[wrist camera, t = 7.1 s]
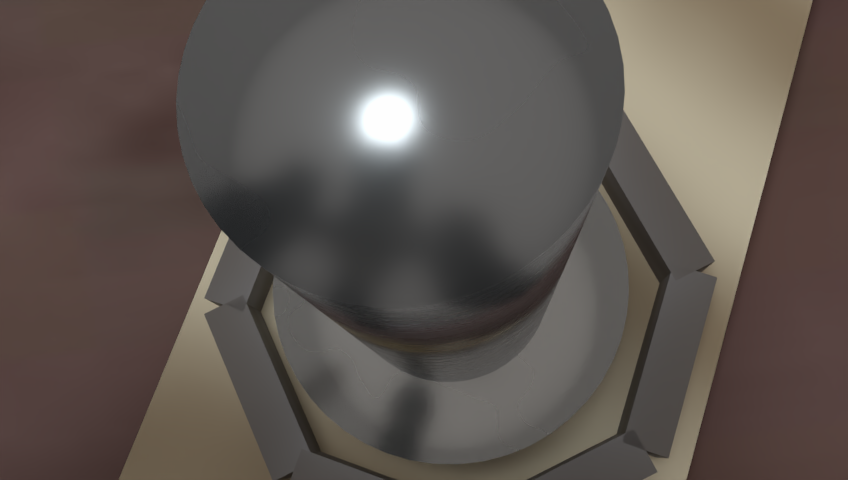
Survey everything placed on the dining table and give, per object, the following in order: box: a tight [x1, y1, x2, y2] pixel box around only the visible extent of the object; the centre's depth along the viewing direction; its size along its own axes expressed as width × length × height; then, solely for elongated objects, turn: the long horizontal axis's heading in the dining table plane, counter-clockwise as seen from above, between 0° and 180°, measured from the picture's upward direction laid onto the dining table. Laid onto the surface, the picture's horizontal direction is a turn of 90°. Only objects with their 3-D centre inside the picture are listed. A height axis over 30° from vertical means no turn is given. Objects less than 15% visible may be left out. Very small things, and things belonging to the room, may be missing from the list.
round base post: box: [176, 0, 629, 464], centre depth 11 cm, size 6×6×10 cm
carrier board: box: [119, 0, 813, 480], centre depth 16 cm, size 20×10×3 cm, turn 161°
